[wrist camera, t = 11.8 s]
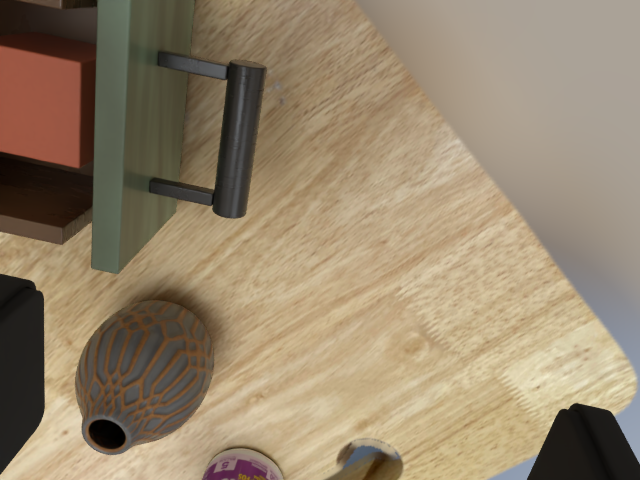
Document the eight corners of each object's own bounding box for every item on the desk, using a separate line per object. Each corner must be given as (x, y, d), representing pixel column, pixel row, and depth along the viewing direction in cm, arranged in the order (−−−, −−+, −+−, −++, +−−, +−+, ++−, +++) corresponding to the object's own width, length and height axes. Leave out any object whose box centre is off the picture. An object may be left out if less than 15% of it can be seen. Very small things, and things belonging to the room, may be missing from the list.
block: (33, 31, 26) (-29, 38, 22) (127, 50, 26) (81, 62, 22) (35, 124, 28) (-23, 147, 24) (123, 143, 28) (79, 169, 24)
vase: (182, 263, 33) (116, 352, 25) (248, 354, 35) (207, 464, 27) (91, 311, 35) (4, 408, 27) (159, 395, 37) (96, 508, 29)
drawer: (292, 0, 26) (259, 4, 19) (256, 229, 31) (220, 297, 24) (-94, -80, 26) (-257, -103, 20) (-70, 159, 31) (-195, 207, 24)
